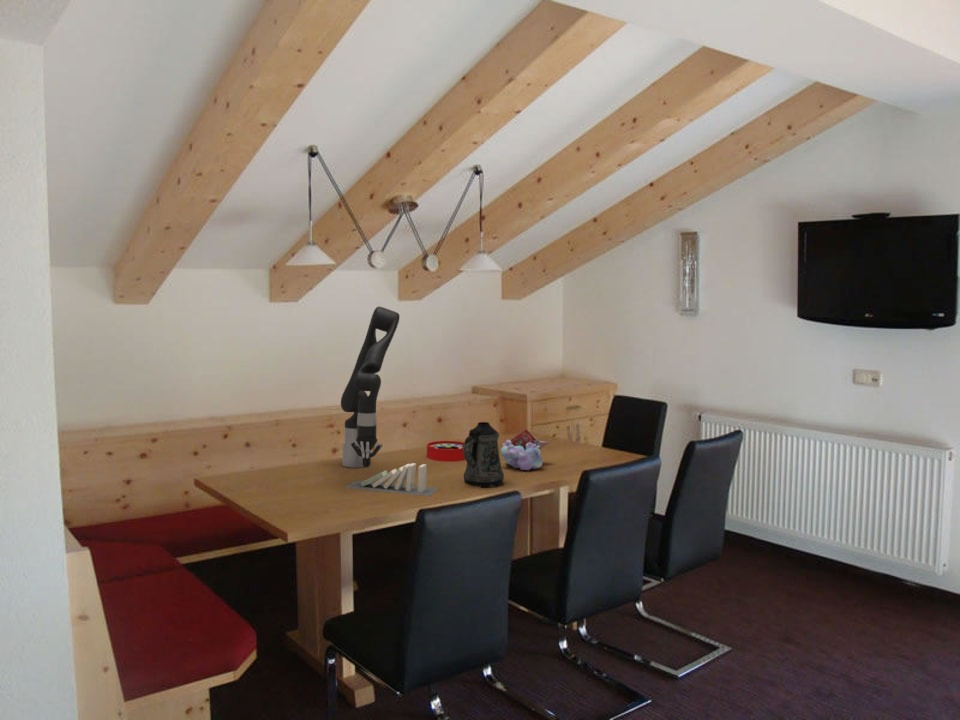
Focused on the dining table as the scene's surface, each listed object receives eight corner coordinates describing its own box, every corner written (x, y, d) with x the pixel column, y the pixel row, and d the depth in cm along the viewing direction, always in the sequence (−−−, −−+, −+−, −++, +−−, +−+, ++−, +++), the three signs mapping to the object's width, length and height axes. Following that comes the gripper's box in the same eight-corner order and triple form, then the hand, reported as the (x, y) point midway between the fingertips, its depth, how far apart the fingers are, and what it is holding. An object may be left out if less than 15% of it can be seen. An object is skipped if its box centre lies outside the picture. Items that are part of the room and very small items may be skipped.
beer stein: (506, 479, 341) (508, 420, 338) (498, 491, 322) (500, 428, 319) (468, 476, 344) (469, 418, 342) (457, 488, 325) (459, 426, 323)
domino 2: (371, 484, 320) (390, 471, 317) (376, 481, 325) (395, 468, 322) (373, 488, 320) (393, 474, 317) (378, 485, 325) (397, 471, 322)
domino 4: (394, 488, 318) (403, 466, 316) (398, 485, 322) (408, 463, 320) (397, 490, 317) (407, 467, 315) (402, 487, 322) (411, 465, 320)
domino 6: (417, 492, 315) (418, 466, 314) (422, 489, 320) (422, 464, 319) (421, 492, 315) (422, 467, 314) (426, 489, 320) (426, 464, 319)
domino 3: (382, 486, 319) (398, 468, 316) (387, 483, 323) (403, 465, 321) (385, 489, 318) (401, 471, 316) (390, 486, 323) (406, 468, 321)
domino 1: (360, 483, 321) (381, 472, 318) (365, 480, 326) (386, 470, 323) (362, 486, 321) (383, 476, 318) (367, 483, 326) (387, 473, 323)
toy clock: (469, 450, 371) (425, 448, 371) (468, 462, 372) (424, 461, 372) (470, 441, 391) (428, 440, 391) (469, 453, 392) (428, 452, 392)
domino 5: (405, 490, 316) (408, 465, 315) (410, 487, 321) (412, 463, 320) (409, 491, 316) (411, 466, 315) (413, 488, 321) (416, 463, 320)
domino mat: (344, 488, 319) (344, 487, 319) (356, 481, 331) (356, 480, 331) (429, 497, 310) (429, 495, 310) (438, 489, 322) (438, 488, 322)
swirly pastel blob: (500, 462, 351) (522, 427, 351) (488, 450, 372) (509, 417, 372) (537, 484, 357) (559, 450, 357) (523, 471, 378) (544, 438, 378)
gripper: (386, 423, 323) (385, 466, 324) (355, 421, 326) (354, 463, 328) (379, 426, 315) (378, 470, 317) (347, 424, 319) (347, 467, 320)
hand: (366, 466), depth 322 cm, fingers closed
